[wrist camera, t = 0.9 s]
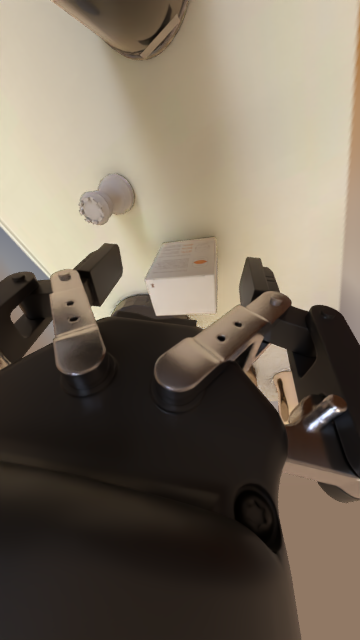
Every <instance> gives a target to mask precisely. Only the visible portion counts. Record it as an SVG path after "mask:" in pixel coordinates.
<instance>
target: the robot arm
mask: <svg viewBox="0 0 360 640" xmlns="http://www.w3.org/2000/svg"><path fill="white" fill-rule="evenodd" d="M51 1H52V2H54V3H55V4H56V5H58V6H59V7H60V8H62V9H63V10H64V11H66V12H67V13H68V14H70V15H71V16H72V17H74V18H75V19H76V20H78V21H79V22H80V23H82V24H83V25H85V26H86V27H87V28H89V29H90V30H91V31H93V32H94V33H95V34H97V35H98V36H99V37H101V38H102V39H103V40H104V41H105V42H106V43H107V44H108V45H109V46H111V47H112V48H113V49H114V50H116V51H117V52H118V53H120V54H121V55H123V56H125V57H127V58H130V59H134V60H147V59H150V58H153V57H155V56H157V55H158V54H160V53H161V52H162V51H163V50H164V49H165V48H166V47H167V46H168V45H169V44H170V43H171V41H172V40H173V38H174V37H175V35H176V34H177V32H178V30H179V28H180V26H181V24H182V21H183V19H184V16H185V13H186V10H187V7H188V3H189V0H51ZM122 272H123V267H122V262H121V256H120V250H119V247H118V245H117V244H108V243H105V244H103V245H102V246H101V247H100V248H99V249H98V250H96V251H94V252H92V253H90V254H89V255H88V256H87V257H86V258H85V259H84V260H82V261H81V262H80V263H79V264H78V265H77V266H76V267H75V268H74V269H64V270H60V271H57V272H55V273H53V274H52V275H51V277H50V280H37V279H36V277H35V275H34V274H33V273H32V272H18V273H15V274H12V275H10V276H8V277H6V278H5V279H4V280H2V281H1V282H0V640H301V634H300V628H299V622H298V615H297V609H296V602H295V596H294V590H293V583H292V577H291V571H290V566H289V561H288V556H287V551H286V547H285V543H284V538H283V534H282V529H281V525H280V519H279V512H278V490H279V482H280V477H281V473H282V472H283V473H287V474H291V475H295V476H299V477H303V478H307V479H310V480H314V481H317V482H318V484H319V485H320V486H321V488H322V489H323V490H324V491H325V492H326V493H327V494H328V495H329V496H330V497H332V498H334V499H335V500H337V501H339V502H344V503H348V502H353V501H358V500H360V345H359V343H358V342H357V340H356V338H355V336H354V335H353V333H352V331H351V329H350V327H349V326H348V324H347V322H346V320H345V319H344V317H343V316H342V314H341V313H339V312H338V311H337V310H335V309H333V308H331V307H328V306H323V305H315V306H312V307H311V308H310V310H309V312H308V311H305V310H301V309H298V308H295V307H293V306H291V304H292V303H291V300H290V299H289V297H287V296H286V295H284V294H282V293H280V291H279V288H278V285H277V282H276V280H275V277H274V274H273V272H272V271H271V270H270V269H269V268H268V267H263V266H262V263H261V259H260V258H252V257H247V258H246V261H245V265H244V269H243V272H242V276H241V280H240V285H239V293H240V302H241V305H240V304H239V305H237V306H236V307H234V308H233V309H231V310H230V311H229V312H227V313H226V314H225V315H223V316H222V317H221V318H219V319H218V320H217V321H215V322H214V323H212V324H211V325H210V326H208V327H207V328H206V329H202V328H200V327H197V326H196V323H197V320H189V319H181V318H168V319H153V318H150V317H147V316H144V315H141V314H138V313H133V312H125V311H118V312H117V314H116V315H115V316H112V317H106V318H102V319H99V320H95V317H94V315H93V312H92V309H91V306H99V307H100V306H101V305H102V304H103V302H104V301H105V299H106V298H107V296H108V295H109V293H110V292H111V291H112V289H113V288H114V286H115V285H116V283H117V282H118V281H119V279H120V278H121V276H122ZM18 305H19V307H20V308H21V310H22V311H23V313H24V314H23V315H22V316H21V317H20V318H19V319H18V320H17V321H16V323H15V324H13V322H12V321H11V318H10V315H11V312H12V311H13V309H15V308H16V306H18ZM52 320H53V326H54V333H55V338H54V339H53V343H51V344H49V345H47V346H45V347H43V348H41V349H39V350H37V351H35V352H33V353H31V354H29V355H27V356H25V357H24V358H22V357H23V356H24V355H25V353H26V352H27V351H28V350H29V349H30V347H31V346H32V345H33V344H34V342H35V341H36V340H37V338H38V337H39V336H40V335H41V334H42V332H43V331H44V330H45V329H46V327H47V326H48V325H49V324H50V322H51V321H52ZM271 343H272V344H274V345H277V346H280V347H282V348H285V349H287V353H288V358H289V363H290V367H291V372H292V376H293V381H294V386H295V390H296V395H297V399H298V405H297V406H296V407H295V408H294V409H293V410H292V411H291V413H290V416H289V424H284V423H283V421H282V418H281V417H280V415H279V413H278V412H277V410H276V409H275V408H274V406H273V405H272V404H271V403H270V402H269V400H268V399H267V398H266V397H265V396H264V395H263V393H262V392H261V391H260V390H259V389H258V388H257V386H256V385H255V384H254V383H253V382H252V380H251V379H250V378H249V377H248V376H247V375H246V373H247V372H248V370H249V369H250V367H251V366H252V364H253V363H254V362H255V361H256V360H257V359H258V358H259V357H260V355H261V354H262V353H263V352H264V351H265V350H266V349H267V348H268V347H269V346H270V345H271Z"/></svg>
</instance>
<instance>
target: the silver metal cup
mask: <svg viewBox="0 0 360 640" xmlns="http://www.w3.org/2000/svg"><path fill="white" fill-rule="evenodd" d="M273 381H274V383H275V386H276V388H277V392H278V402H279V403H278V404H279V405H278V410H279V415H280V417H281V418H282V421H283V423H284V424H289V416H290V413H291V411H292V410H293V409H294V408H295V407H296V406H297V405H298V399H297V395H296V390H295V386H294V381H293V376H292V372H291V371H285V372H280V373H278V374H276V375H275V376H274V377H273Z"/></svg>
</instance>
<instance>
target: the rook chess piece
mask: <svg viewBox="0 0 360 640" xmlns="http://www.w3.org/2000/svg"><path fill="white" fill-rule="evenodd" d="M133 204H134V193H133V189H132V187H131V185H130V184H129V182H128V181H127V180H126V179H125V178H124V177H122V176H120V175H117V174H109V175H107V176H106V177H104V178H103V179H102V180H101V181H100V184H99V186H98V191H93V192H92V191H89V192H85V193H84V194H82V195H81V198H80V202H79V206H80V208H81V209H80V210H79V212H80V214H81V215H84V216H85V217H86V219H85V221H87V222H88V223H90V222H91V223H93V225H94V224H96V225H103V224H105V223H106V222H107V221H108V219H109V217H110V216H111V215H112V213H113V214H116V215H119V214H124V213H126V212H127V211H129V210H130V209H131V208H132V206H133Z"/></svg>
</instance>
